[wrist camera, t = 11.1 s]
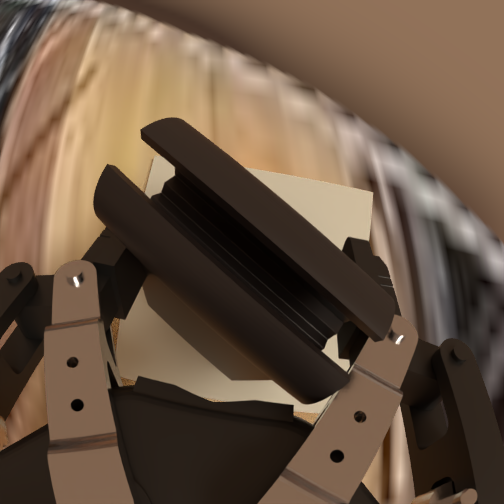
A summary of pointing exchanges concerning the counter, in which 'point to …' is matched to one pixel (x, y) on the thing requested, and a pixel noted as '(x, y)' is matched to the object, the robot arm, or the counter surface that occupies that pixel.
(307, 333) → the phone stand
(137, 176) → the counter surface
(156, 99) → the counter surface
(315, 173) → the counter surface
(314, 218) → the board
